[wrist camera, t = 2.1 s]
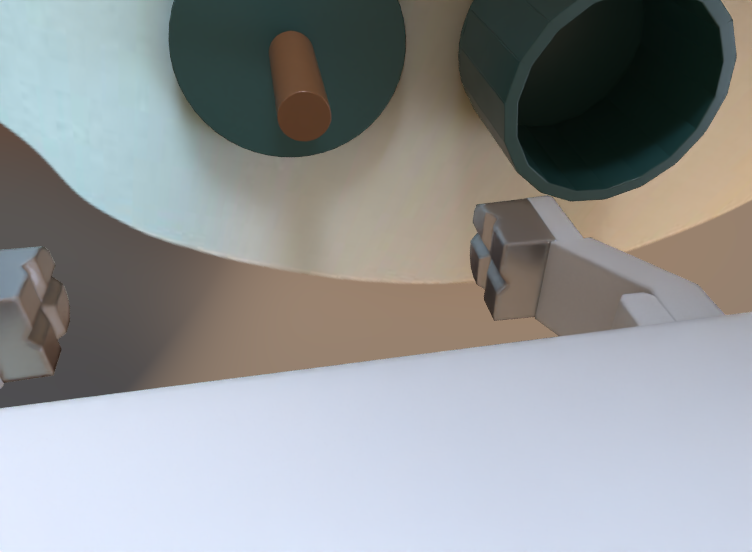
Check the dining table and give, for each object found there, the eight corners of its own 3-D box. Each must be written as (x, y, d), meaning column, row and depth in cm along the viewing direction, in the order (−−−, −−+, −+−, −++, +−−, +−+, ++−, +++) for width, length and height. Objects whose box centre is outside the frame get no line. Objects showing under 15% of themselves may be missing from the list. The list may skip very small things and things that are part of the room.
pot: (471, -71, 38) (529, -29, 31) (680, -69, 40) (779, -29, 33) (445, 136, 46) (485, 207, 39) (618, 128, 49) (686, 194, 42)
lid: (149, -85, 34) (127, -37, 27) (410, -82, 37) (458, -36, 29) (188, 154, 44) (179, 241, 36) (394, 144, 46) (428, 224, 38)
